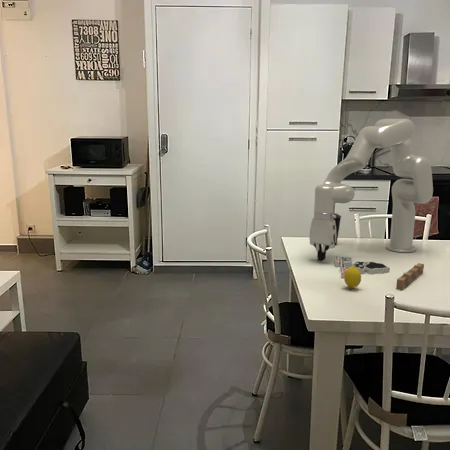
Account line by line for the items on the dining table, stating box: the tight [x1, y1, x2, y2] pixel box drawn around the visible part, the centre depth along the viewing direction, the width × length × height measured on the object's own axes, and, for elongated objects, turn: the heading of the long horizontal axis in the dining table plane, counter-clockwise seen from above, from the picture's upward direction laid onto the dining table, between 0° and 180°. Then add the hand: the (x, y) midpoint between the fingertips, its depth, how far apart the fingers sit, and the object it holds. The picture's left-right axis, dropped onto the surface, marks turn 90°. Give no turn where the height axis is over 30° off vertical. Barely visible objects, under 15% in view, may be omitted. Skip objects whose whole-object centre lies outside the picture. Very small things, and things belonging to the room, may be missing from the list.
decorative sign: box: [334, 256, 390, 280], centre depth 176 cm, size 22×2×20 cm
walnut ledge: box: [395, 262, 425, 291], centre depth 165 cm, size 24×2×4 cm, turn 141°
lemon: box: [343, 266, 362, 290], centre depth 156 cm, size 6×6×8 cm
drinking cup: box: [333, 209, 342, 246], centre depth 212 cm, size 8×8×20 cm
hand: (321, 260), depth 186 cm, fingers closed
